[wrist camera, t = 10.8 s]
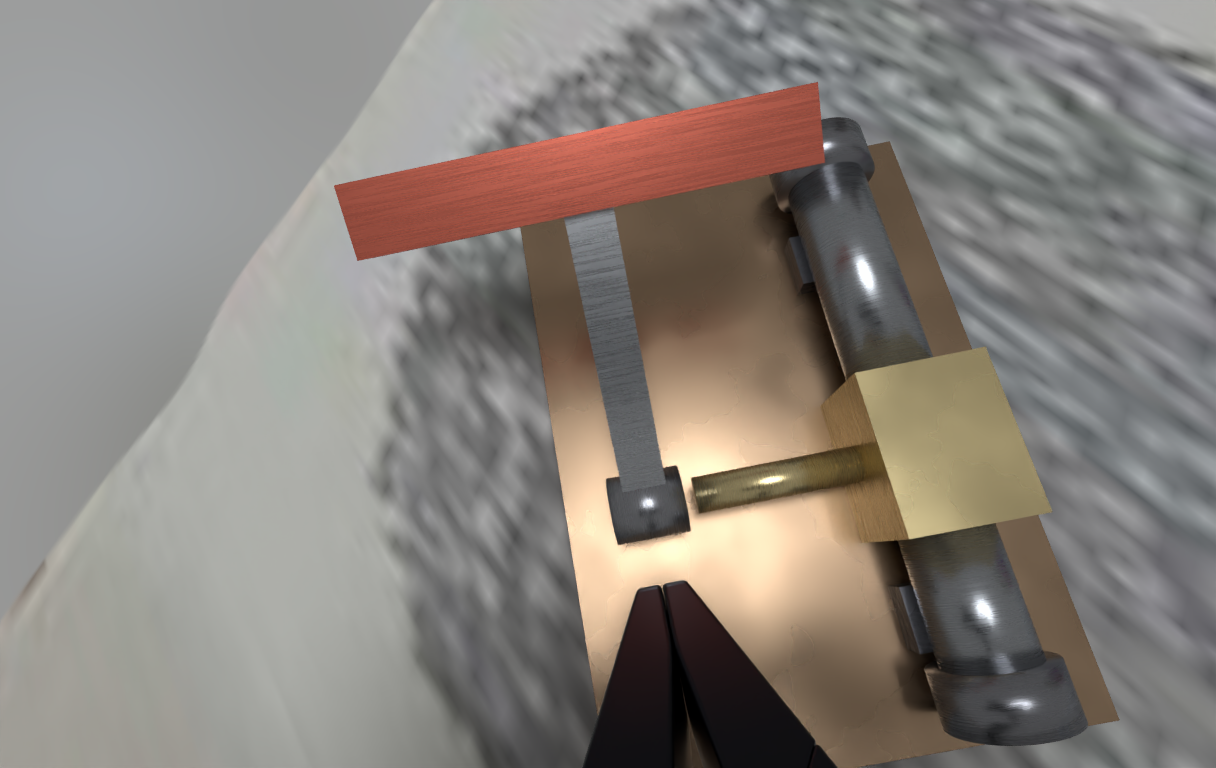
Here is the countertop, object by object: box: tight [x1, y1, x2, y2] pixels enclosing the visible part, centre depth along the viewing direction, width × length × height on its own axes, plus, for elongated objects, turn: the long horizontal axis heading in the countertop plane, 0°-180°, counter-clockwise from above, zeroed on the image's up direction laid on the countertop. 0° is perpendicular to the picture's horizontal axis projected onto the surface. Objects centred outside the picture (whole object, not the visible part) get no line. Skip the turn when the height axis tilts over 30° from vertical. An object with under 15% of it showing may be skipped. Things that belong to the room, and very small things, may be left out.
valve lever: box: [334, 82, 825, 545], centre depth 18 cm, size 2×13×13 cm
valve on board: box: [521, 117, 1119, 768], centre depth 20 cm, size 22×16×5 cm
